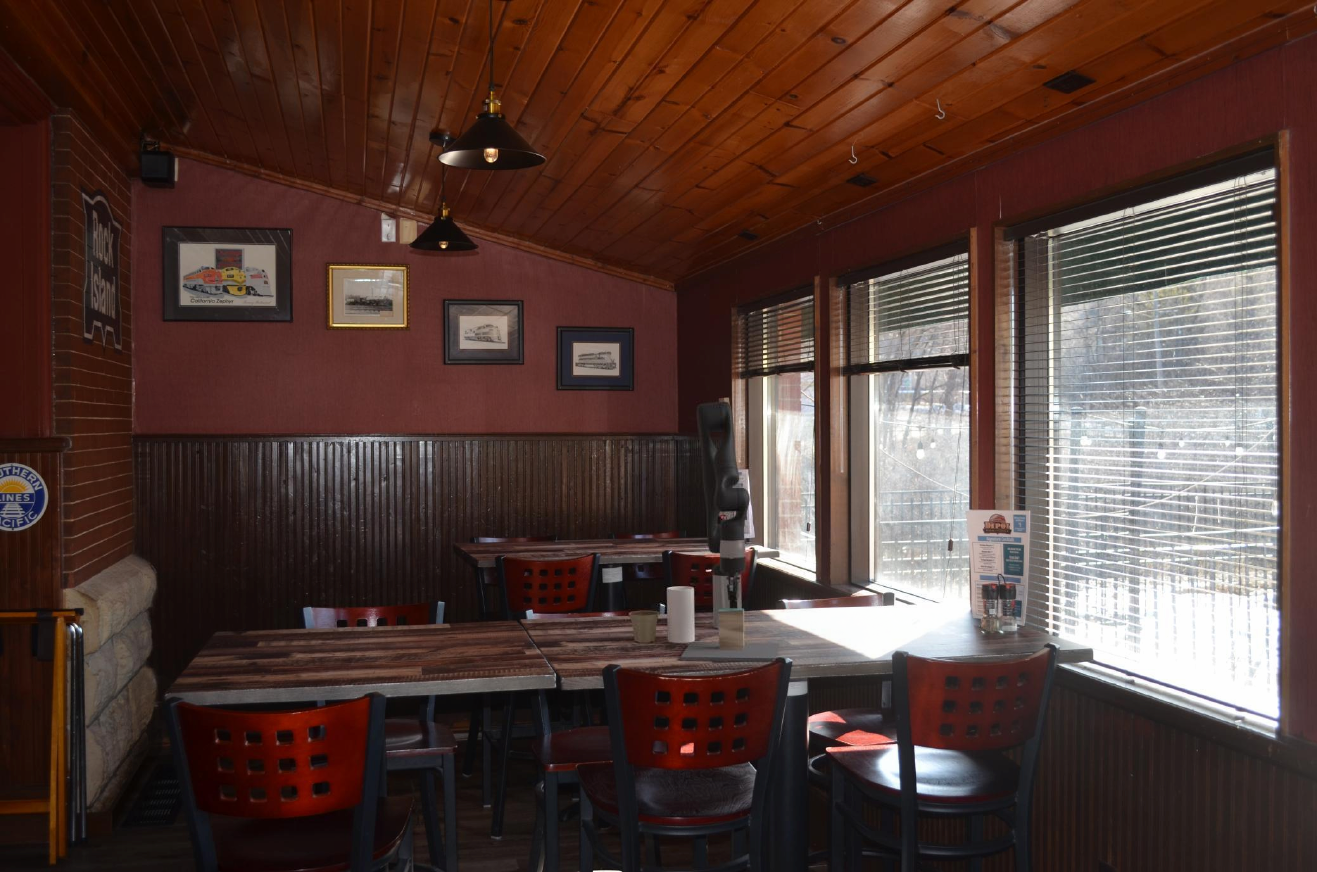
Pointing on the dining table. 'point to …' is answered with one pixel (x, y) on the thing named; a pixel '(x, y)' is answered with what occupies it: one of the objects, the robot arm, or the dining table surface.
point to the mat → (730, 652)
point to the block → (731, 629)
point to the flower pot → (644, 625)
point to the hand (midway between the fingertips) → (733, 613)
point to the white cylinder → (680, 614)
